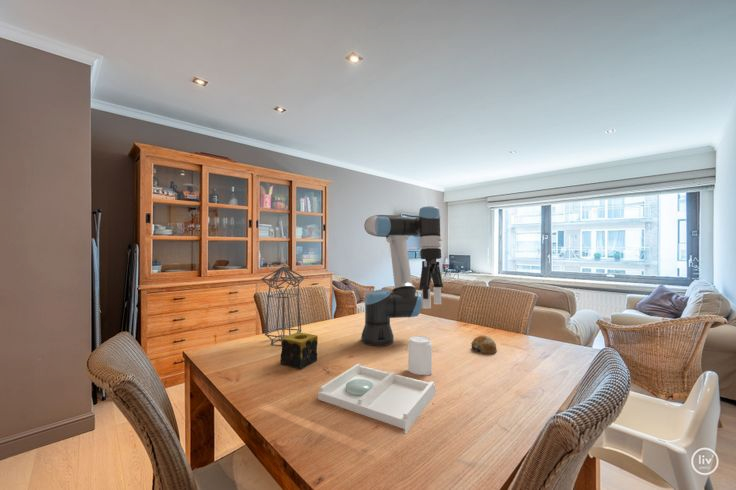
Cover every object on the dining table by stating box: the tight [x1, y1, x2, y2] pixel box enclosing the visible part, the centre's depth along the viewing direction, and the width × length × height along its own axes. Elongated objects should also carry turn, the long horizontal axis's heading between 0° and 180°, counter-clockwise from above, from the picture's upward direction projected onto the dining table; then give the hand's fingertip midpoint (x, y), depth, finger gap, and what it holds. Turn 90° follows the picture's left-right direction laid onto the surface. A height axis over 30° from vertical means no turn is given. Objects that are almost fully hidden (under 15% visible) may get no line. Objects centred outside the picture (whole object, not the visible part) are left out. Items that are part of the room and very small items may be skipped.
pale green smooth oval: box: [346, 379, 373, 396], centre depth 92 cm, size 8×8×1 cm
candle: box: [279, 331, 319, 370], centre depth 115 cm, size 10×10×10 cm
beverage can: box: [407, 335, 433, 376], centre depth 106 cm, size 8×8×12 cm
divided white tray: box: [317, 363, 436, 435], centre depth 88 cm, size 27×22×4 cm
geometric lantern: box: [260, 266, 306, 347], centre depth 139 cm, size 16×16×35 cm
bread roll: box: [470, 335, 498, 355], centre depth 129 cm, size 10×10×8 cm
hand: (432, 306), depth 110 cm, fingers open, 13 cm apart
